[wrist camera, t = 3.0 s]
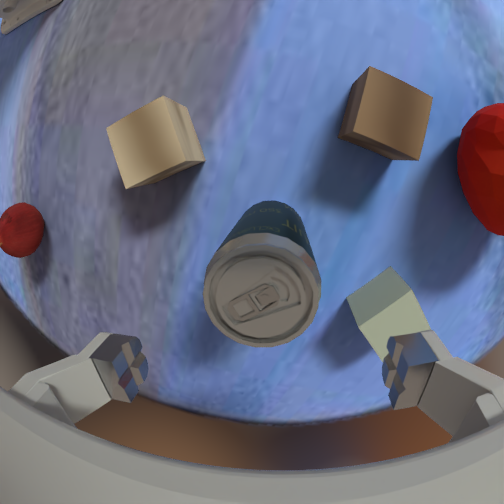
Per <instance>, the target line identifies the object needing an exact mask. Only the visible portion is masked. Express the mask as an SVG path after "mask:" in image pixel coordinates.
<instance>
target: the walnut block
mask: <svg viewBox="0 0 504 504" xmlns="http://www.w3.org/2000/svg"><path fill="white" fill-rule="evenodd" d="M432 99H433V97H431V96H429V95H428V94H426V93H424V92H422V91H420V90H419V89H417V88H415V87H413V86H411V85H409V84H407V83H405V82H403V81H401V80H399V79H397V78H395V77H393V76H391V75H389V74H387V73H384V72H382V71H380V70H378V69H375V68H373V67H371V66H369V67H368V68H367V69H366V70H365V72H364V73H363V74H362V75H361V76H360V77H359V78H358V79H357V80H356V81H355V82H354V83H353V84H352V88H351V92H350V96H349V100H348V103H347V107H346V111H345V114H344V118H343V122H342V125H341V129H340V132H339V136H338V138H340V139H343V140H345V141H348V142H350V143H353V144H356V145H358V146H361V147H363V148H366V149H368V150H371V151H373V152H375V153H378V154H380V155H382V156H385V157H387V158H389V159H391V160H418V161H419V158H420V154H421V150H422V146H423V142H424V138H425V134H426V129H427V125H428V120H429V115H430V110H431V105H432Z"/></svg>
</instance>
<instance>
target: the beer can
mask: <svg viewBox="0 0 504 504" xmlns="http://www.w3.org/2000/svg"><path fill="white" fill-rule="evenodd" d="M203 298H204V304H205V310H206V311H207V313H208V315H209V317H210V319H211V321H212V323H213V324H214V325H215V326H216V327H217V328H218V329H219V330H220V331H221V332H222V333H223V334H224V335H225V336H227V337H229V338H231V339H232V340H234V341H236V342H238V343H240V344H244V345H248V346H252V347H274V346H278V345H281V344H285V343H288V342H290V341H291V340H293V339H295V338H296V337H298V336H300V335H301V334H302V333H303V332H304V331H305V330H306V329H307V328H308V326H309V325H310V324H311V323H312V322H313V319H314V317H315V314H316V312H317V309H318V303H319V300H320V298H321V278H320V274H319V271H318V268H317V265H316V262H315V258H314V255H313V252H312V249H311V246H310V243H309V240H308V237H307V234H306V231H305V228H304V225H303V222H302V220H301V217H300V216H299V215H298V214H297V212H296V211H295V210H294V209H293V208H291V207H290V206H288V205H287V204H285V203H282V202H278V201H263V202H260V203H257V204H255V205H253V206H252V207H251V208H249V209H248V210H247V211H246V212H245V213H244V214H243V216H242V217H241V218H240V220H239V221H238V222H237V224H236V225H235V226H234V228H233V229H232V231H231V232H230V233H229V235H228V236H227V237H226V239H225V240H224V241H223V243H222V244H221V246H220V247H219V248H218V250H217V251H216V252H215V254H214V256H213V258H212V259H211V261H210V263H209V264H208V266H207V269H206V274H205V279H204V290H203Z"/></svg>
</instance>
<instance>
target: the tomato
mask: <svg viewBox="0 0 504 504" xmlns="http://www.w3.org/2000/svg"><path fill="white" fill-rule="evenodd" d="M457 165H458V175H459V179H460V183H461V186H462V190H463V193H464V195H465V197H466V199H467V201H468V203H469V206H470V208H471V210H472V212H473V213H474V215H475V216H476V217H477V218H478V219H479V221H480V222H481V223H482V224H483V225H484V227H485V228H486V229H487V230H488V231H490V232H492V233H495V234H497V235H502V236H504V103H497V104H493V105H490V106H487V107H484V108H482V109H480V110H479V111H477V112H476V113H475V114H474V115H473V116H472V117H471V118H470V119H469V121H468V122H467V123H466V125H465V126H464V127H463V129H462V132H461V137H460V142H459V147H458V151H457Z"/></svg>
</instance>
